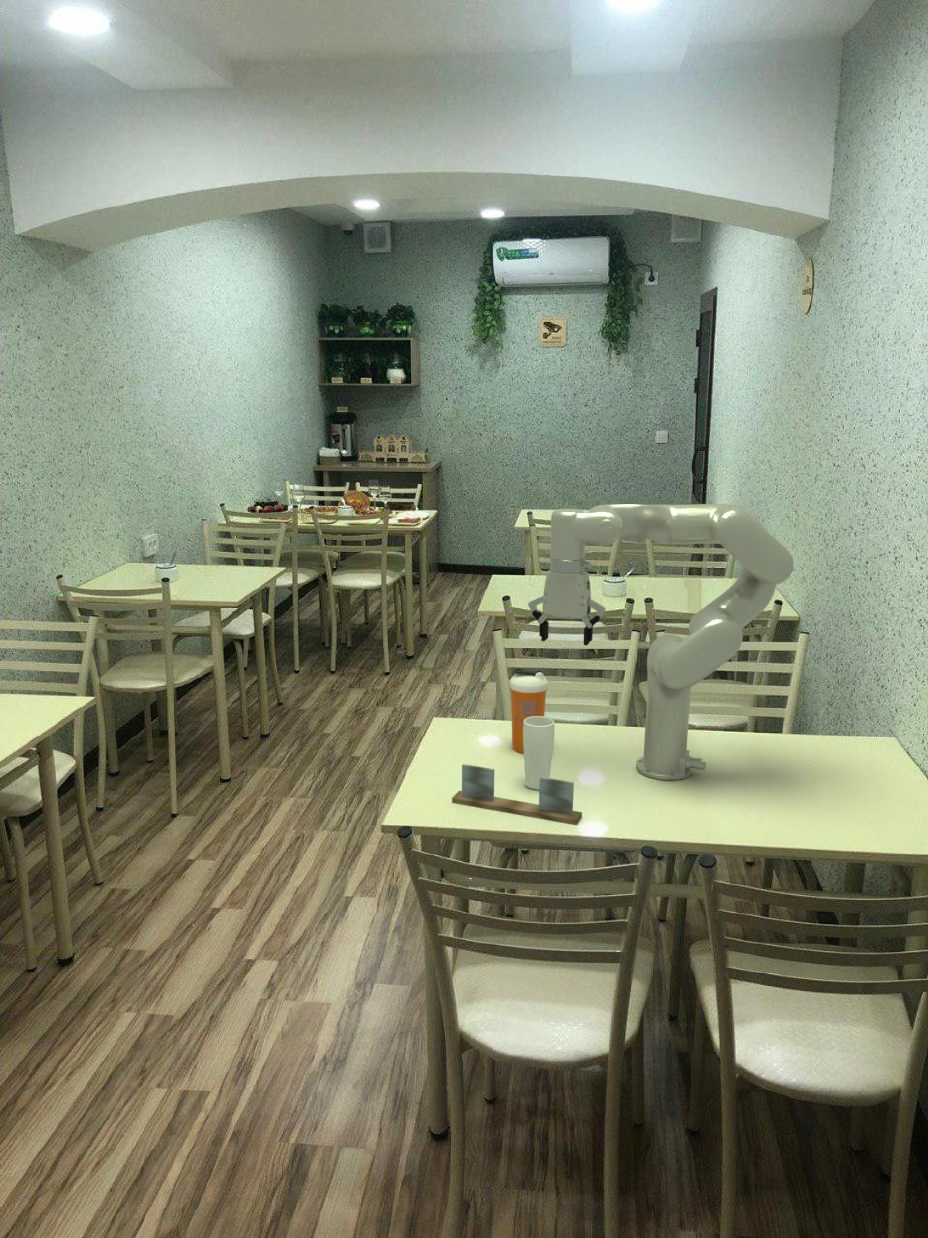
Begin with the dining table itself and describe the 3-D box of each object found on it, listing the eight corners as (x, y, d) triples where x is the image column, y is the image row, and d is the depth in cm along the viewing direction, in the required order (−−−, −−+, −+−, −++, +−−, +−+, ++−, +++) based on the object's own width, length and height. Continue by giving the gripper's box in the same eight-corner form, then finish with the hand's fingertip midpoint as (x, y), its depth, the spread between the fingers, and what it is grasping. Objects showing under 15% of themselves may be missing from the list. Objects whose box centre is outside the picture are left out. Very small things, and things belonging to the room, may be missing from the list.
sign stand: (581, 816, 191) (583, 780, 189) (576, 825, 187) (578, 787, 186) (459, 795, 201) (459, 760, 199) (452, 802, 197) (452, 766, 195)
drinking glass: (550, 793, 202) (552, 727, 198) (519, 790, 203) (521, 725, 200) (554, 781, 209) (556, 717, 205) (523, 778, 210) (525, 714, 206)
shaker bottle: (506, 742, 231) (507, 664, 226) (541, 741, 232) (544, 663, 227) (511, 756, 222) (513, 675, 217) (548, 755, 223) (551, 674, 218)
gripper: (610, 565, 205) (607, 641, 209) (534, 560, 211) (533, 634, 215) (602, 571, 198) (599, 649, 202) (524, 566, 204) (523, 642, 208)
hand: (565, 641), depth 208 cm, fingers open, 9 cm apart
